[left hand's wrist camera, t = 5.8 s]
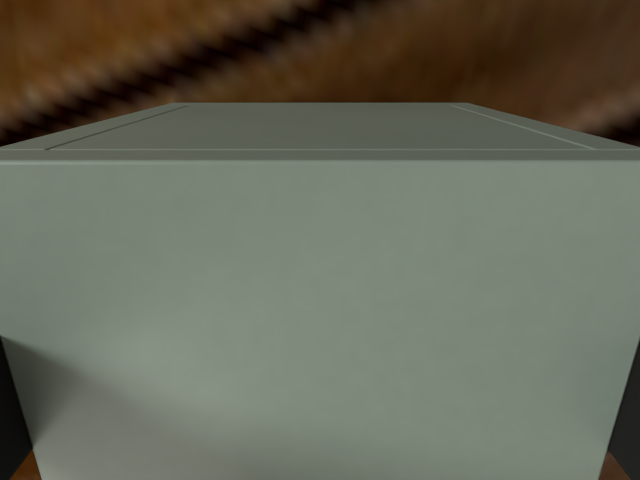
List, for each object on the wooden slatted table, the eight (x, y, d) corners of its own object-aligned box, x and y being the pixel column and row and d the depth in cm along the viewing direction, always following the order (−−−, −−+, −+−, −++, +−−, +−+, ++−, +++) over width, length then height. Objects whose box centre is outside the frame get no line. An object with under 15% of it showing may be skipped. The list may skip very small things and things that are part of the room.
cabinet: (423, 503, 25) (498, 821, 15) (217, 503, 25) (142, 821, 15) (468, 102, 18) (696, 160, 7) (171, 102, 18) (-55, 160, 7)
